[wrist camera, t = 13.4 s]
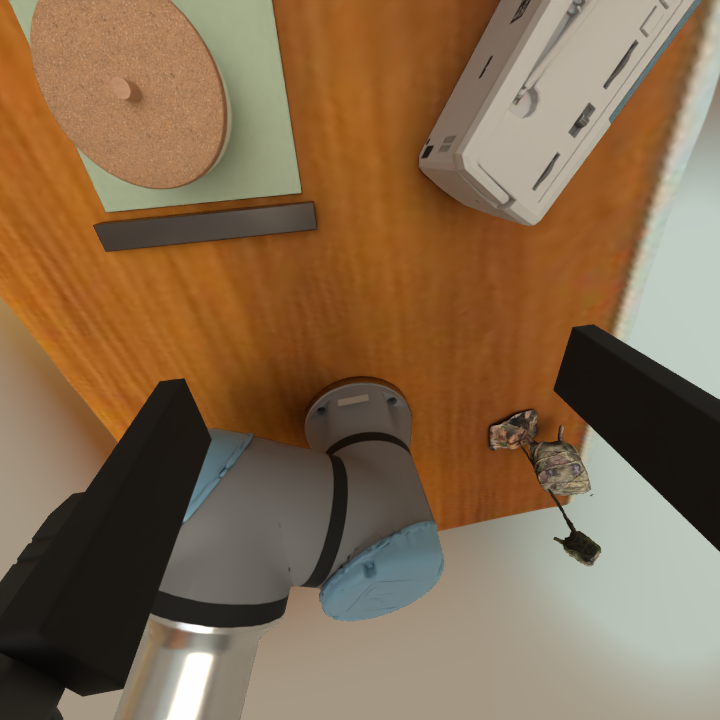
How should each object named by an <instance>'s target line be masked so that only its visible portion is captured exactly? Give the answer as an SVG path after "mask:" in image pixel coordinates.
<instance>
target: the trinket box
mask: <svg viewBox="0 0 720 720" xmlns="http://www.w3.org/2000/svg"><path fill="white" fill-rule="evenodd" d="M30 46H31V57H32V62H33V67H34V72H35V75H36V78H37V81H38V84H39V88H40V90H41V92H42V95H43V97H44V99H45V101H46V103H47V106H48V108H49V109H50V111H51V113H52V114H53V116H54V118H55V119H56V121H57V123H58V124H59V125H60V127H61V128H62V130H63V131H64V132H65V134H66V135H67V136H68V138H69V139H70V140H71V141H72V142H73V143H74V144H75V145H76V146H77V148H78V149H79V150H80V151H81V152H82V153H83V154H85V155H86V156H87V157H88V158H89V159H90V160H91V161H92V162H94V163H95V164H96V165H98V166H99V167H101V168H102V169H103V170H105V171H106V172H108V173H110V174H111V175H113V176H115V177H117V178H119V179H121V180H123V181H125V182H128V183H130V184H133V185H136V186H140V187H144V188H149V189H160V190H162V189H174V188H178V187H182V186H186V185H188V184H190V183H192V182H194V181H196V180H198V179H200V178H202V177H204V176H205V175H206V174H208V173H209V172H210V171H212V170H213V169H214V168H215V167H216V165H217V164H218V163H219V162H220V161H221V159H222V157H223V156H224V154H225V152H226V150H227V147H228V145H229V142H230V137H231V132H232V106H231V101H230V96H229V91H228V88H227V85H226V82H225V79H224V76H223V74H222V72H221V70H220V68H219V66H218V63H217V61H216V59H215V57H214V56H213V54H212V53H211V51H210V49H209V48H208V46H207V45H206V43H205V42H204V40H203V39H202V37H201V35H200V34H199V32H198V31H197V30H196V28H195V27H194V26H193V24H192V23H191V22H190V21H189V19H188V18H187V17H186V16H185V14H184V13H183V12H182V11H181V10H180V9H179V8H178V7H177V6H176V5H175V4H174V3H173V2H172V1H171V0H38V1H37V4H36V7H35V10H34V13H33V16H32V22H31V31H30Z"/></svg>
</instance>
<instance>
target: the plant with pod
mask: <svg viewBox="0 0 720 720" xmlns="http://www.w3.org/2000/svg"><path fill="white" fill-rule="evenodd" d="M537 414H538V413H537V412H536V410H530V411H528V412H527V411H526V412H523V413H520V414H516V415H514V416H513V417H512V418H510V419H509V421H504V422H503V423H502V424H501V425H498V426H497V425H496V426H492V427H491V428H490V430H489V431H491V432H490V433H489V434H491V436H490V437H489V439H490V438H492V439H490V441H491V442H489V443H490V445H491V446H489V449H490V450H493V451H494V450H497V449H499V448H510V449H511V450H512V449H516V448H518V447H520V446H521V447H522V445H524V444H526V445H527V446H528V448H529V453H530V457H529V456H528V453H527V452H526V451H525V449H524V448H523V447H522V449H523V451H524V452H525V454H526V455H527V457H528V459H529V461H530V462H531V463H532V465H533V467H534V472H535V473H536V475H537V479H538V481H539V483H540V485H541V487H542V488H543V489H544V490H545V491H546V492H548V493H550V494H551V496H552V498H553V499H554V501H555V502H556V504H557V506H558V507H559V508H560V510H561V512H562V513H563V516H564V518H565V520H566V522H567V524H568V526H569V528H570V529H571V533H570V536H569V537H567V538H565V540H561V539H559V538H557V537H554V540H556V541H558V542H559V543H560V544H563V547H564V550H565V551H566V553H568V554H569V556H571V557H574V558H575V559H577V561H579V562H581V563H583V564H584V565H586V566H592V565H593V564H594V562H595V561H596V559H597V558H598V557H599V555H600V553H601V548H600V546H599V545H597V544H596V543H595V542H593V541H592V540H591V539H590V538H589V537H587V536H586V535H585V534H583V533H582V532H580V531H576V530H575V528H574V526H573V523H572V522H571V521H570V520H569V519H568V518H567V516H566V514H565V513H564V510H563V508H562V506H561V505H560V503H559V501H558V500H557V499H556V497H555V496H554V495H564V496H565V495H572V494H584V493H586V492H587V491H589V490H591V487H590V482H589V478H588V474H587V471H586V469H585V467H584V465H583V463H582V461H581V458H580V455H579V454H578V452H577V450H576V449H575V448H574V447H573V446H572V445H570V444H568V443H565V442H564V441H563V434H562V432H563V426H562V425H560V427H559V433H558V441H554V442H550V443H549V442H544V441H541V442H540V443H537V442H536V441H534V440H533V439H534V438H533V437H535V436H536V435H535V434H537V433H538V426H537ZM537 435H538V434H537ZM532 438H533V439H532ZM530 458H531V459H530ZM592 495H593V494H591V495H590V496H592Z"/></svg>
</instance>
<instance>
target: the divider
mask: <svg viewBox="0 0 720 720" xmlns="http://www.w3.org/2000/svg"><path fill="white" fill-rule="evenodd" d="M93 227H94V229H95V231H96V233H97V235H98V237H99V239H100V241H101V243H102V245H103V247H104V249H105V251H106V252H110V251H119V250H129V249H138V248H147V247H157V246H166V245H176V244H185V243H195V242H204V241H213V240H223V239H232V238H242V237H251V236H260V235H270V234H279V233H289V232H298V231H307V230H316V229H317V223H316V216H315V209H314V202H313V201H307V202H297V203H287V204H277V205H267V206H257V207H248V208H238V209H228V210H218V211H208V212H198V213H188V214H178V215H168V216H158V217H148V218H138V219H128V220H118V221H108V222H101V223H98V224H95V225H93Z"/></svg>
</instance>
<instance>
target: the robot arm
mask: <svg viewBox="0 0 720 720" xmlns="http://www.w3.org/2000/svg"><path fill="white" fill-rule="evenodd" d="M554 391H555V392H556V393H557V394H558V395H559V396H560V397H561V398H562V399H563V400H564V401H565V402H566V403H567V404H568V405H569V406H570V407H571V408H572V409H573V410H574V411H575V412H576V413H577V414H578V415H579V416H580V417H582V418H583V419H584V420H585V421H586V422H587V423H588V424H589V425H590V426H591V427H592V428H593V429H594V430H595V431H596V432H597V433H598V434H599V435H600V436H601V437H602V438H603V439H604V440H605V441H606V442H607V443H608V444H609V445H610V446H612V447H613V449H615V450H616V451H617V452H618V453H619V454H620V455H621V456H622V457H623V458H624V459H625V460H626V461H627V462H628V463H629V464H630V465H631V466H632V467H633V468H634V469H635V470H636V471H637V472H638V473H639V474H640V475H642V477H643V478H644V479H645V480H646V481H648V482H649V483H650V484H651V485H652V486H653V487H654V488H655V489H656V490H657V491H658V492H659V493H660V494H661V495H662V496H663V497H664V498H665V499H666V500H667V501H668V502H669V503H670V504H671V505H672V506H673V507H674V508H675V509H676V510H677V511H678V512H679V513H681V514H682V516H683V517H685V518H686V519H687V520H688V521H689V522H690V523H691V524H692V525H693V526H694V527H695V528H696V529H697V530H698V531H699V532H700V533H701V534H702V535H703V536H704V537H705V538H706V539H707V540H708V541H709V542H710V543H711V544H712V545H713V546H714V547H716V549H718V550H719V551H720V399H717V398H715V397H714V396H712V395H711V394H709V393H707V392H705V391H704V390H702V389H701V388H699V387H697V386H695V385H694V384H692V383H690V382H689V381H687V380H685V379H684V378H682V377H681V376H679V375H677V374H676V373H674V372H672V371H670V370H669V369H667V368H665V367H664V366H662V365H660V364H659V363H657V362H655V361H654V360H652V359H650V358H649V357H647V356H645V355H644V354H642V353H640V352H639V351H637V350H635V349H634V348H632V347H630V346H629V345H627V344H625V343H624V342H622V341H620V340H619V339H617V338H615V337H614V336H612V335H610V334H609V333H607V332H605V331H604V330H602V329H600V328H599V327H597V326H595V325H594V324H593V325H585V326H578V327H572V331H571V334H570V337H569V341H568V344H567V347H566V350H565V354H564V357H563V360H562V363H561V367H560V370H559V373H558V377H557V380H556V383H555V386H554ZM411 427H412V415H411V411H410V408H409V406H408V403H407V401H406V399H405V397H404V395H403V394H402V393H401V392H400V390H398V389H397V388H396V387H395V386H393V385H392V384H390V383H388V382H386V381H383V380H380V379H377V378H371V377H354V378H348V379H344V380H341V381H338V382H335V383H333V384H331V385H329V386H328V387H326V388H324V389H323V390H322V391H321V392H319V393H318V394H317V395H316V396H315V397H314V399H313V400H312V401H311V403H310V404H309V406H308V409H307V411H306V415H305V436H306V439H307V441H308V444H309V446H310V448H311V450H310V449H306V448H302V447H298V446H294V445H289V444H285V443H281V442H277V441H273V440H268V439H264V438H260V437H256V436H254V433H247V434H244V433H239V432H233V431H228V430H223V429H217V428H210V429H207V427H206V425H205V423H204V421H203V419H202V416H201V414H200V412H199V410H198V407H197V405H196V403H195V401H194V399H193V396H192V394H191V392H190V390H189V388H188V385H187V383H186V381H185V379H184V378H183V379H175V380H168V381H160V382H159V383H158V385H157V386H156V388H155V389H154V391H153V392H152V394H151V395H150V397H149V398H148V400H147V401H146V403H145V404H144V406H143V407H142V408H141V410H140V411H139V413H138V414H137V416H136V417H135V419H134V420H133V422H132V423H131V425H130V426H129V428H128V429H127V431H126V432H125V434H124V435H123V437H122V438H121V440H120V441H119V443H118V444H117V445H116V447H115V448H114V450H113V451H112V453H111V454H110V456H109V457H108V459H107V460H106V462H105V463H104V465H103V466H102V468H101V469H100V471H99V472H98V474H97V475H96V477H95V478H94V479H93V481H92V483H91V484H90V485H89V487H88V488H87V490H86V491H85V492H82V493H76V494H72V495H71V496H70V497H69V498H68V499H66V501H64V502H63V503H62V504H61V505H60V506H59V507H58V508H57V509H56V510H54V511H53V512H52V513H51V514H50V515H49V516H48V518H47V519H46V520H45V522H44V523H43V524H42V526H41V527H40V528H39V530H38V531H37V533H36V534H35V535H34V537H33V538H32V543H29V544H28V545H27V546H26V548H25V549H24V550H23V552H22V553H21V554H20V556H19V557H18V558H17V560H18V561H17V563H16V564H13V565H12V567H11V568H10V569H9V571H8V572H7V574H6V575H5V576H4V578H3V579H2V580H1V582H0V720H63V717H62V715H61V713H60V711H59V710H58V708H56V707H57V705H58V703H59V700H60V698H61V696H62V694H63V692H64V690H65V688H67V689H69V690H71V691H73V692H75V693H77V694H79V695H81V696H88V695H93V694H99V693H104V692H109V691H115V690H120V689H124V691H123V693H122V696H121V699H120V702H119V705H118V707H117V710H116V713H115V716H114V719H113V720H240V718H241V714H242V710H243V706H244V701H245V697H246V693H247V689H248V685H249V680H250V676H251V672H252V668H253V663H254V660H255V655H256V651H257V647H258V642H259V640H260V639H261V637H262V636H263V635H264V634H265V633H266V632H268V631H269V630H270V629H271V628H273V627H274V626H275V625H277V624H278V623H279V622H280V621H281V620H282V619H283V616H284V613H285V609H286V604H287V600H288V595H289V591H290V588H291V586H301V587H313V588H319V589H321V592H320V594H319V599H320V602H321V603H322V608H323V610H324V612H325V614H326V615H328V616H330V617H332V618H334V619H335V620H340V621H358V620H365V619H370V618H374V617H378V616H382V615H385V614H388V613H391V612H393V611H396V610H398V609H400V608H403V607H405V606H407V605H409V604H410V603H412V602H414V601H416V600H417V599H419V598H420V597H422V596H423V595H425V594H426V593H427V592H428V591H429V590H430V589H432V587H433V586H434V585H435V584H436V583H437V581H438V580H439V578H440V576H441V574H442V571H443V567H444V557H443V553H442V549H441V545H440V541H439V538H438V534H437V531H438V528H437V525H436V523H435V521H434V518H433V515H432V512H431V509H430V506H429V504H428V501H427V498H426V495H425V492H424V490H423V487H422V484H421V481H420V478H419V476H418V473H417V470H416V467H415V464H414V461H413V459H412V456H411V453H410V441H411ZM144 630H145V631H144ZM143 633H144V634H143ZM142 636H143V637H142ZM141 638H142V640H141ZM140 641H141V642H140ZM139 644H140V645H139ZM138 647H139V648H138ZM137 649H138V651H137ZM136 652H137V654H136ZM135 655H136V657H135ZM134 658H135V659H134ZM133 661H134V662H133ZM132 664H133V665H132ZM131 667H132V668H131ZM130 669H131V671H130ZM129 672H130V673H129ZM128 675H129V676H128ZM127 678H128V679H127ZM126 681H127V682H126ZM125 684H126V685H125ZM124 686H125V688H124Z"/></svg>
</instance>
